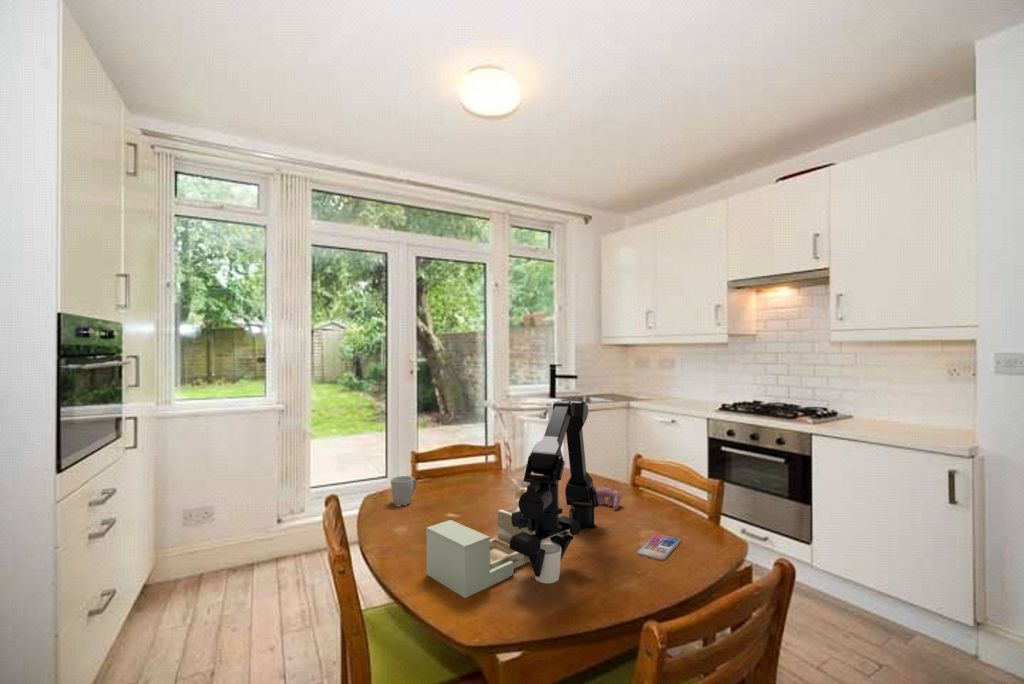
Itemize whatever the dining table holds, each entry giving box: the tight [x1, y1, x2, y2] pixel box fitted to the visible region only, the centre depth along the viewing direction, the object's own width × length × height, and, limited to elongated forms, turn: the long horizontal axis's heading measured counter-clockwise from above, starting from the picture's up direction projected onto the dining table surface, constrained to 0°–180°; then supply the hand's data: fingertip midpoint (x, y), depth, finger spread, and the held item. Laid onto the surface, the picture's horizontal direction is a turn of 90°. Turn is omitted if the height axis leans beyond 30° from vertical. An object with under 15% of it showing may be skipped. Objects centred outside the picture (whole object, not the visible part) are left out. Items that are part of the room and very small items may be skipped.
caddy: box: [426, 519, 515, 599], centre depth 109 cm, size 14×15×11 cm
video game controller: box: [591, 487, 622, 511], centre depth 156 cm, size 10×5×7 cm, turn 58°
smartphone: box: [636, 533, 681, 562], centre depth 123 cm, size 7×1×15 cm
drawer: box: [490, 509, 535, 570], centre depth 115 cm, size 14×12×10 cm
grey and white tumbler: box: [534, 540, 562, 584], centre depth 107 cm, size 7×7×7 cm
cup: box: [390, 475, 417, 506], centre depth 161 cm, size 8×10×8 cm
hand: (546, 571), depth 107 cm, fingers closed on grey and white tumbler, 6 cm apart
